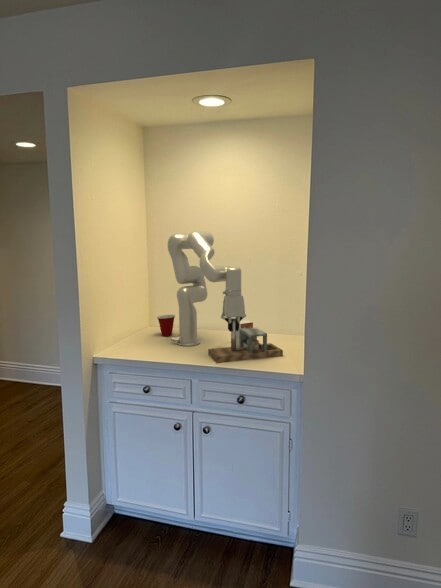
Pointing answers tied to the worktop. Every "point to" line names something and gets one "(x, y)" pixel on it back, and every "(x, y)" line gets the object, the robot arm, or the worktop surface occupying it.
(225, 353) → the brown wooden tray
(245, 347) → the sliding frame
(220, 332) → the worktop surface
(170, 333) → the plastic cup
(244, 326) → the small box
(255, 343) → the maple block
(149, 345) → the worktop surface
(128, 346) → the worktop surface
